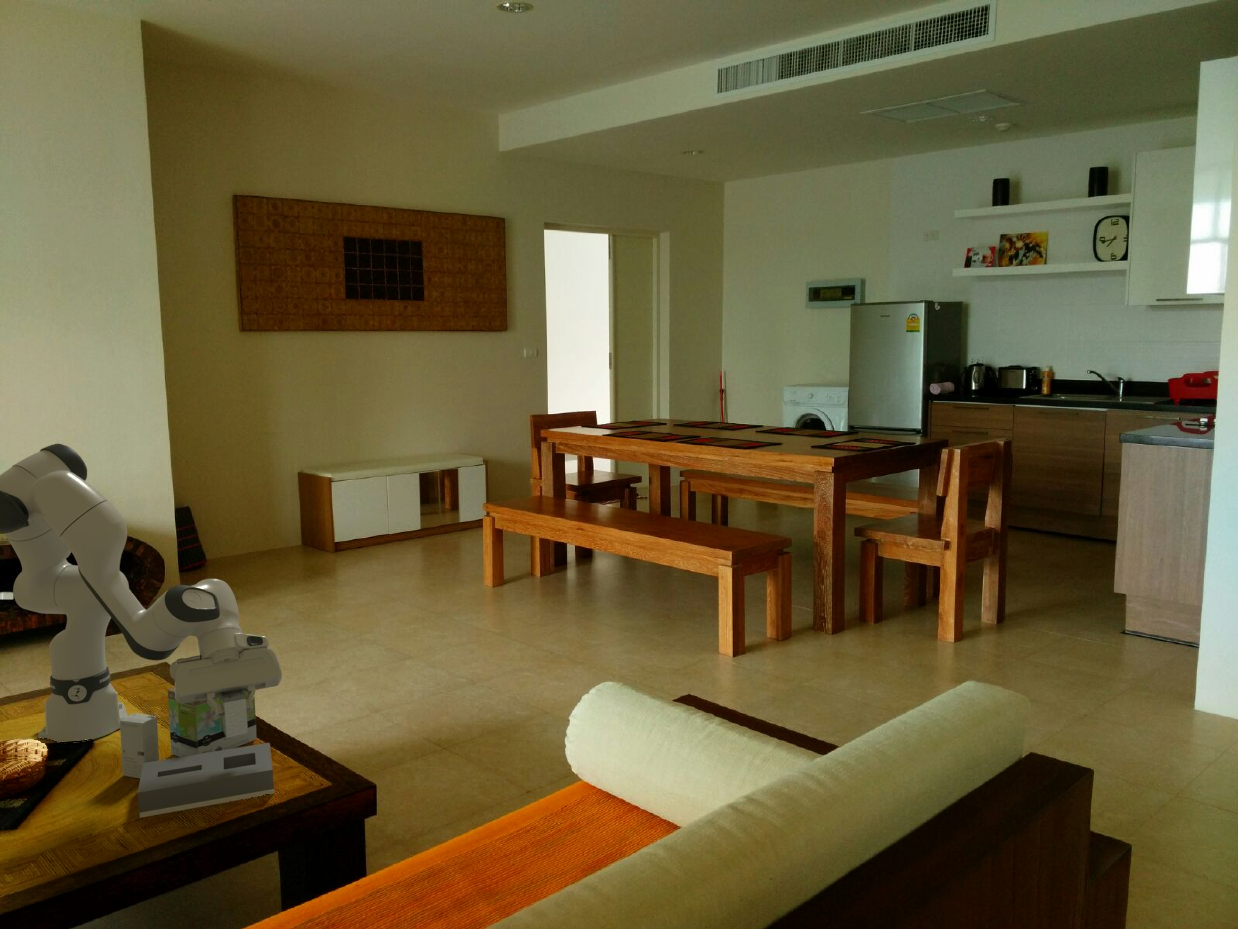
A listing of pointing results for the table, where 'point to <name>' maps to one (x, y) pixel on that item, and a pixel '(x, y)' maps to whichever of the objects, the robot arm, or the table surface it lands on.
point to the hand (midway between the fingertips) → (234, 712)
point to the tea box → (203, 728)
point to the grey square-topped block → (234, 713)
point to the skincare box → (138, 742)
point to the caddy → (205, 779)
